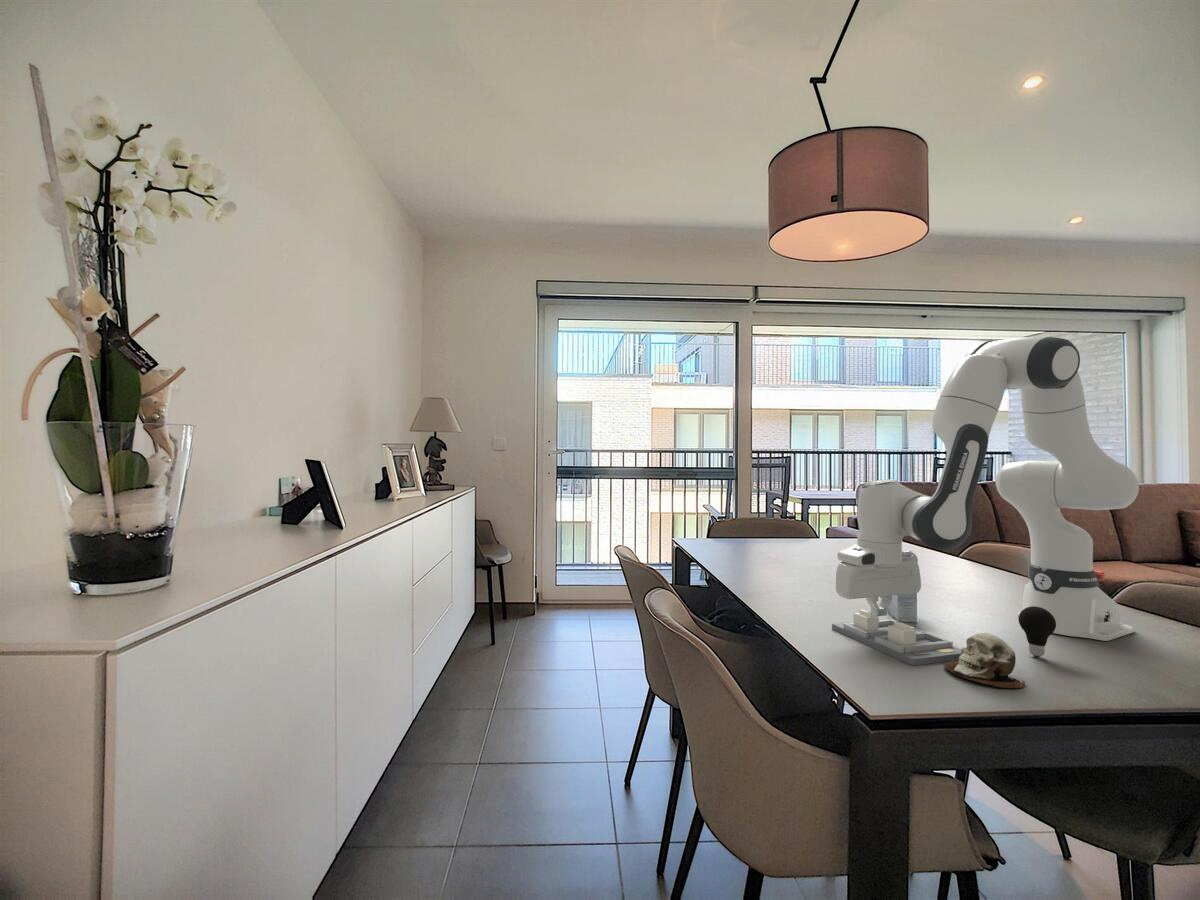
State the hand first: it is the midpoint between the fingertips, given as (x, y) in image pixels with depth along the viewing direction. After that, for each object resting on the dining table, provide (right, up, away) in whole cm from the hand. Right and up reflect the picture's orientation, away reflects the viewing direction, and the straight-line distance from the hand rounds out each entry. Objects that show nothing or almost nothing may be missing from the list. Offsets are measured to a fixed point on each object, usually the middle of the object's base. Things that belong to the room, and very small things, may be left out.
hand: (879, 615), depth 121 cm
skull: (+8, -5, -22) cm, 24 cm away
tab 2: (0, -3, -10) cm, 10 cm away
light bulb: (+25, -5, -12) cm, 28 cm away
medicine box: (+12, -5, +13) cm, 19 cm away
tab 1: (-4, -3, -2) cm, 5 cm away
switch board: (+1, -4, -5) cm, 7 cm away
